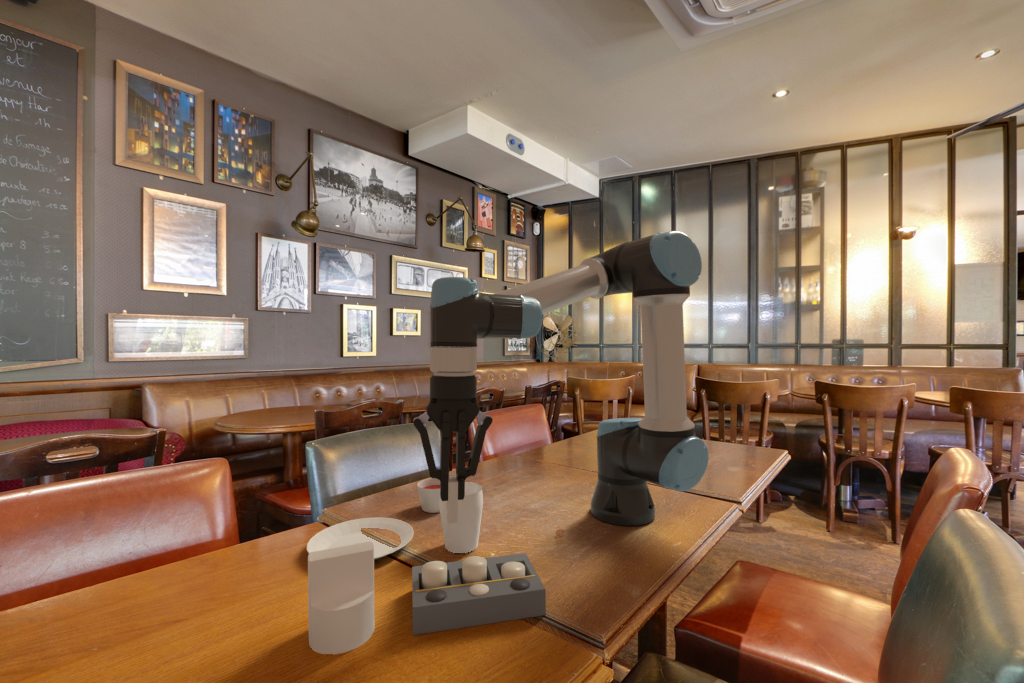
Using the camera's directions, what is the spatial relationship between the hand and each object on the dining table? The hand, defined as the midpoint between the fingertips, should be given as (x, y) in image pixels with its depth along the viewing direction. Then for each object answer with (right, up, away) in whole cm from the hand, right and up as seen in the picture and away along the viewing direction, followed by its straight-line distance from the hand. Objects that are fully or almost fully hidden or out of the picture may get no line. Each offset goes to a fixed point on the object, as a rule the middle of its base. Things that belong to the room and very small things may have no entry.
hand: (452, 519), depth 73 cm
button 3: (-3, -11, 0) cm, 12 cm away
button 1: (+10, -13, +3) cm, 16 cm away
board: (+4, -13, 0) cm, 14 cm away
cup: (-1, -14, +20) cm, 24 cm away
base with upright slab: (-15, -14, -7) cm, 22 cm away
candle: (-10, -14, +41) cm, 45 cm away
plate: (-21, -14, +20) cm, 32 cm away
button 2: (+4, -11, +1) cm, 12 cm away
